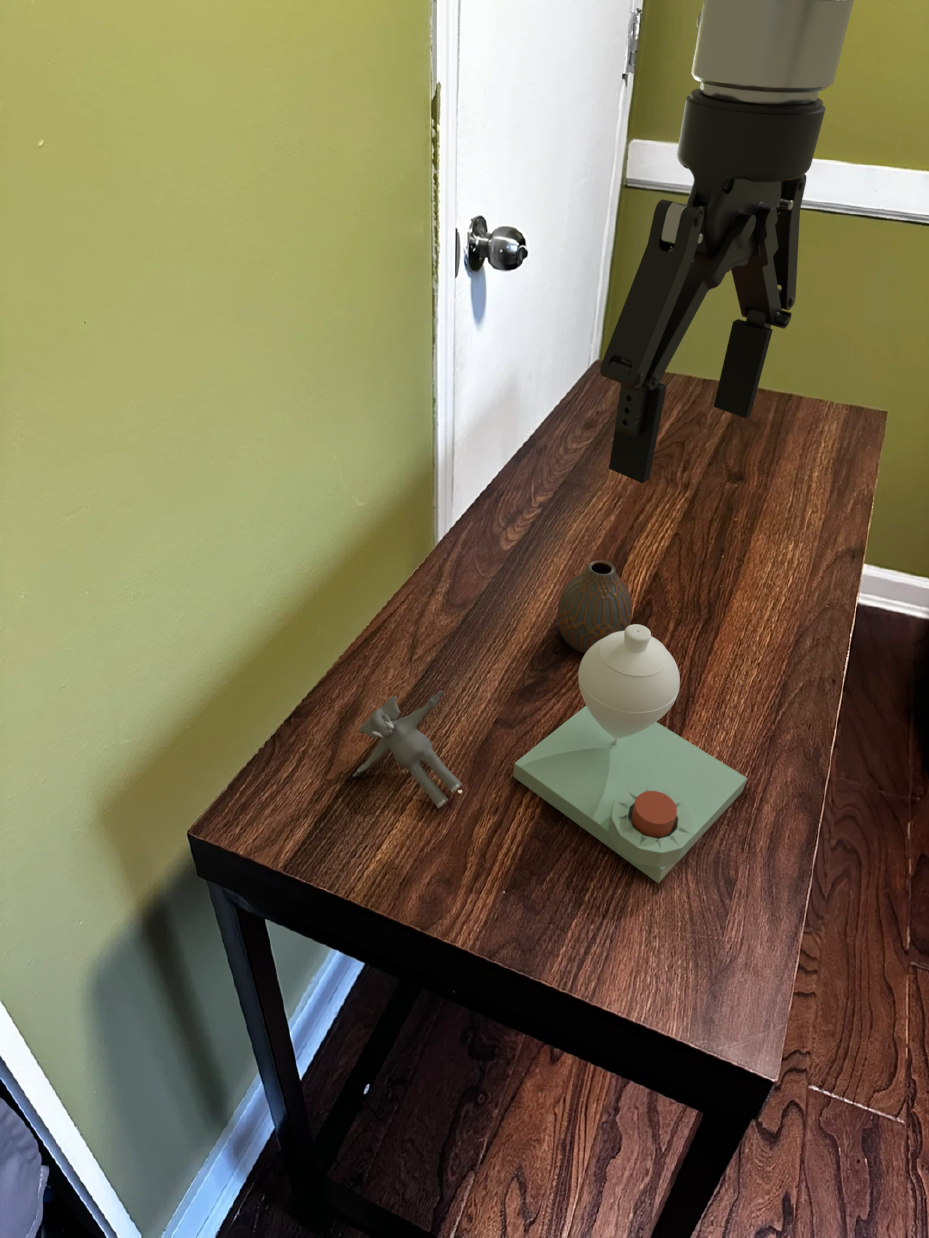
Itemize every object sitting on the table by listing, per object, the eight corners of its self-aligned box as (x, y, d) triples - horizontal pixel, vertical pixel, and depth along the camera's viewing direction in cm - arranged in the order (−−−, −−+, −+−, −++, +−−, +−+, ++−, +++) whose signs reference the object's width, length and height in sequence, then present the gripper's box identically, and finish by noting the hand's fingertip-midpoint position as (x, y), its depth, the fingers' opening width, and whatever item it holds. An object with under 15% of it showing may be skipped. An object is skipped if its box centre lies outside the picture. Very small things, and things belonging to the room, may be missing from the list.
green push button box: (747, 794, 68) (758, 765, 66) (655, 895, 61) (664, 866, 59) (602, 703, 76) (607, 674, 74) (505, 783, 69) (507, 753, 66)
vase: (543, 651, 81) (552, 577, 76) (568, 611, 86) (577, 538, 81) (613, 674, 79) (627, 598, 74) (634, 631, 84) (649, 557, 78)
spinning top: (594, 697, 74) (613, 586, 67) (677, 734, 71) (707, 622, 63) (551, 752, 69) (567, 639, 62) (638, 794, 66) (666, 681, 58)
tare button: (681, 820, 62) (685, 807, 61) (657, 844, 61) (661, 831, 60) (646, 797, 64) (650, 783, 63) (623, 820, 62) (626, 806, 61)
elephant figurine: (392, 845, 64) (319, 754, 66) (418, 836, 70) (350, 753, 72) (488, 754, 63) (410, 665, 65) (506, 753, 68) (434, 671, 71)
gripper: (797, 66, 56) (725, 375, 70) (564, 103, 42) (530, 483, 55) (911, 80, 52) (812, 404, 66) (698, 126, 38) (626, 529, 51)
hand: (683, 441), depth 60 cm, fingers open, 13 cm apart
